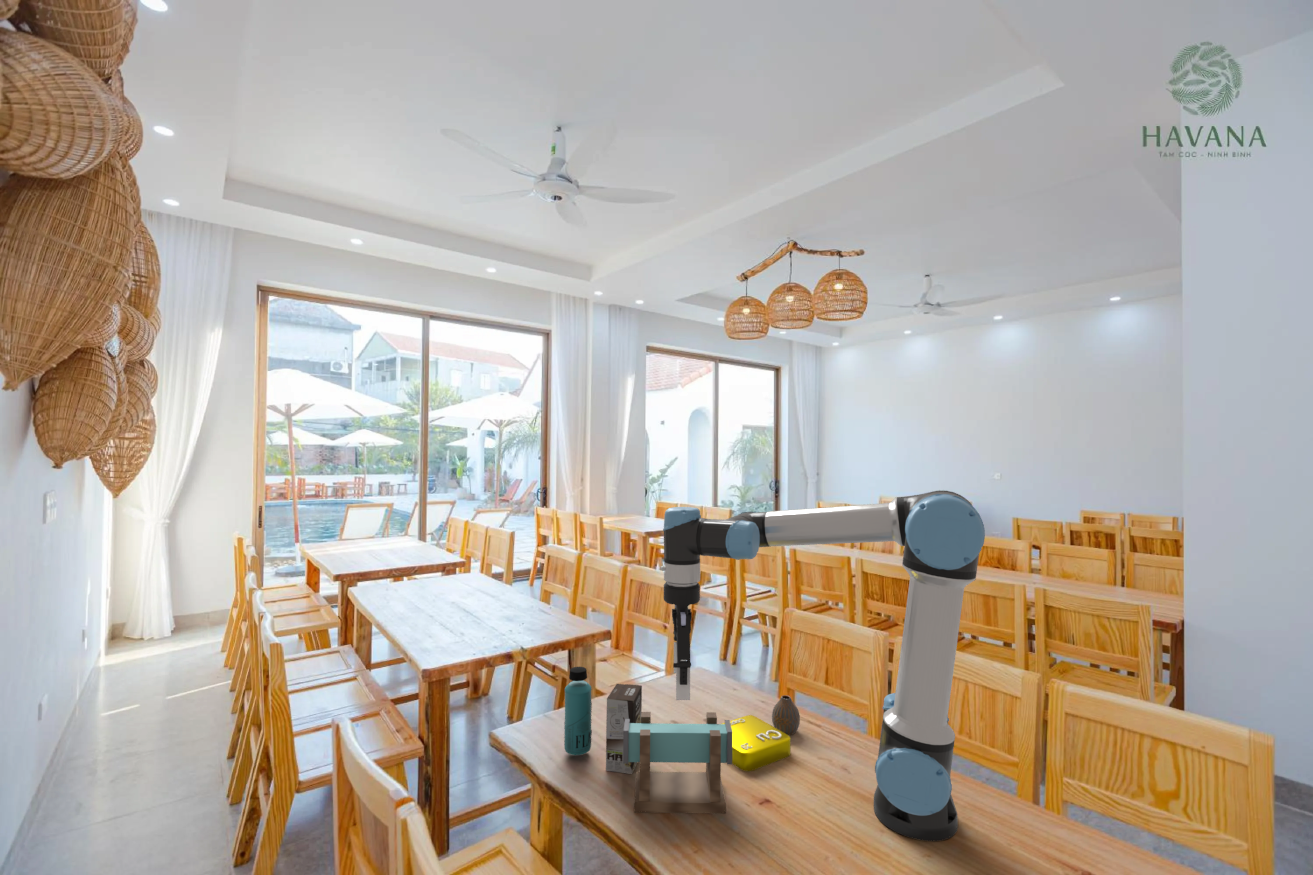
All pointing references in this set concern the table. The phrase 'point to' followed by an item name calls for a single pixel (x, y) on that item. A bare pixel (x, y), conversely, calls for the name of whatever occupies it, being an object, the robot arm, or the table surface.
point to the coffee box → (621, 724)
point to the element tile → (757, 743)
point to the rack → (680, 781)
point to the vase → (786, 715)
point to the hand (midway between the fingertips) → (681, 685)
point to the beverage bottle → (578, 713)
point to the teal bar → (676, 742)
